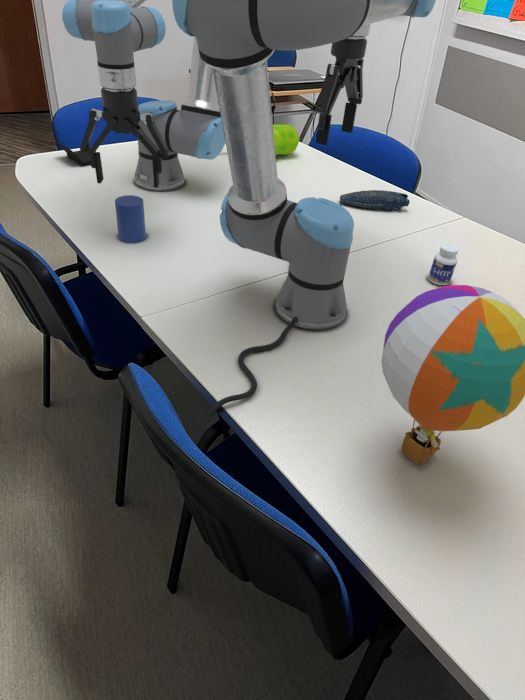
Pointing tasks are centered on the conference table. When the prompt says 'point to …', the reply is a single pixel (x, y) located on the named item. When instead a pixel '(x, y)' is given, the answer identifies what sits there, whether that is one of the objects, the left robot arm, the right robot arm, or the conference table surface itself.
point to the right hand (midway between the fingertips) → (334, 137)
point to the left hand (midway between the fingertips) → (128, 183)
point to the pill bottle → (443, 265)
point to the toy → (454, 363)
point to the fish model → (376, 199)
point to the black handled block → (76, 155)
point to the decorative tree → (285, 139)
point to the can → (130, 218)
